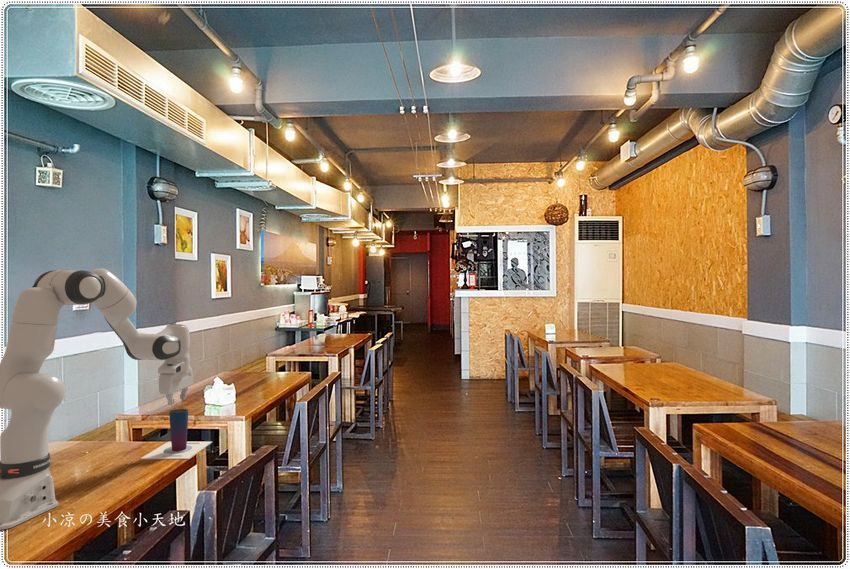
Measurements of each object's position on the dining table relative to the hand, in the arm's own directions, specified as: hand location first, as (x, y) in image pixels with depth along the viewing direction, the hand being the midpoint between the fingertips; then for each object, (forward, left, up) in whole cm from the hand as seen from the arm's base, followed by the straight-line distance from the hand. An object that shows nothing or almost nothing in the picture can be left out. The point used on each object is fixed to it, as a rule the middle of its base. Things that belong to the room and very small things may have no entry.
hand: (177, 401), depth 199 cm
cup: (0, -1, -19) cm, 19 cm away
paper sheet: (0, 0, -19) cm, 19 cm away
